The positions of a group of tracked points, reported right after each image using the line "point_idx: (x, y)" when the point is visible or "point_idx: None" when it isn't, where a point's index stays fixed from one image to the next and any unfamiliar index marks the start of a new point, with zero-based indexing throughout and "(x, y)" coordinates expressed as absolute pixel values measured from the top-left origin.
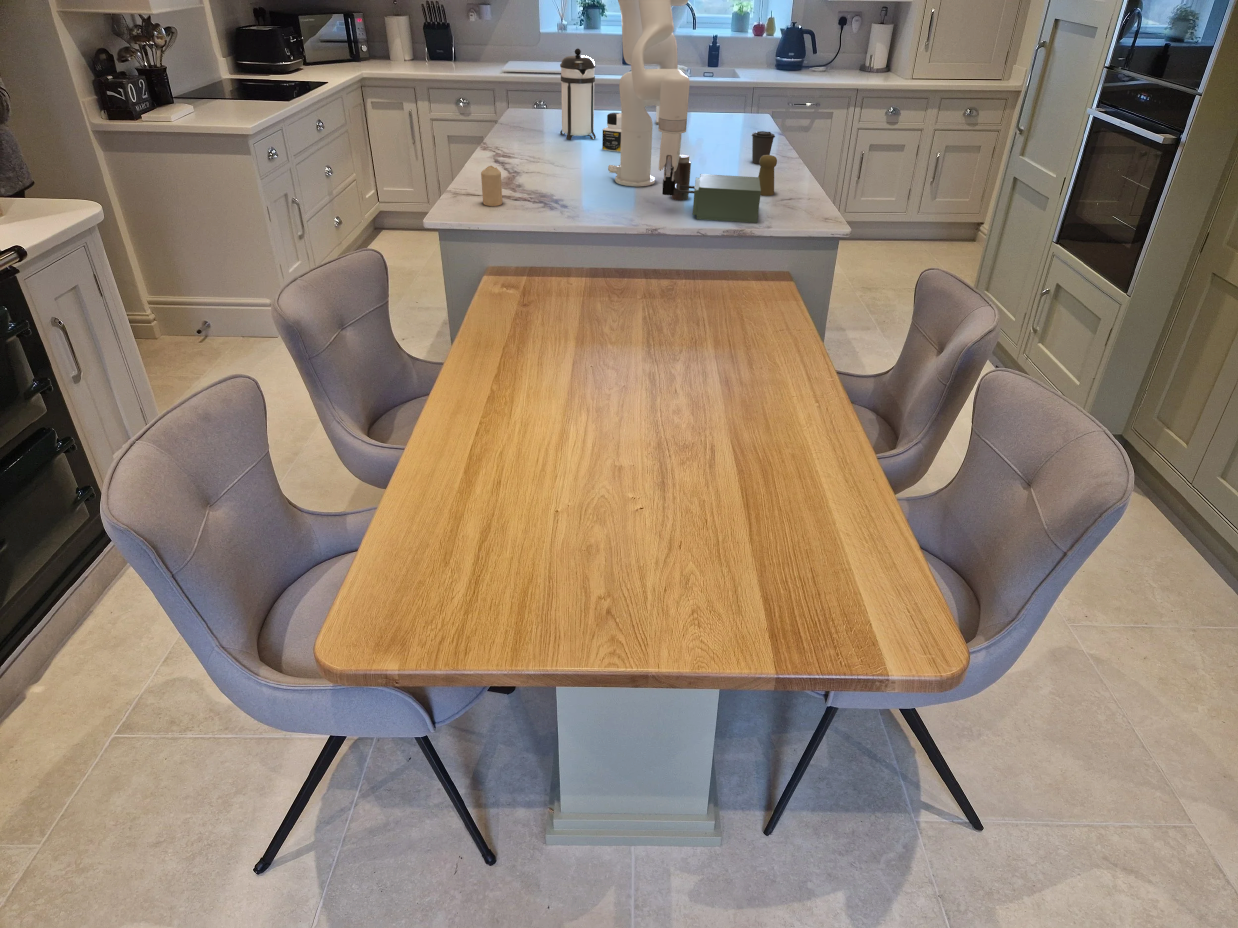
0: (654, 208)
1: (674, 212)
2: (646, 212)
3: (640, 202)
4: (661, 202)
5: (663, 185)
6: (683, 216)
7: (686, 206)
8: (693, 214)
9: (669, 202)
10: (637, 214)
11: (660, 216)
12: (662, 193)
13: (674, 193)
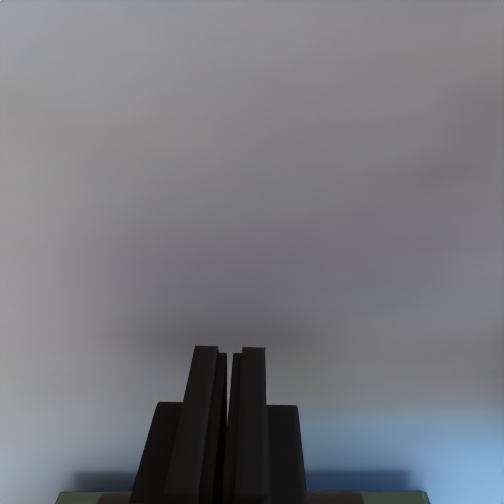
0: (267, 195)
1: (186, 359)
2: (110, 129)
3: (473, 24)
4: (479, 243)
5: (177, 433)
6: (101, 420)
7: (372, 428)
8: (61, 500)
9: (481, 308)
10: (5, 38)
11: (32, 264)
12: (195, 351)
13: (106, 494)
